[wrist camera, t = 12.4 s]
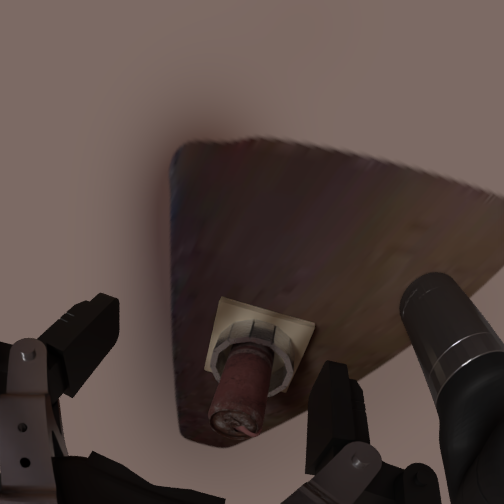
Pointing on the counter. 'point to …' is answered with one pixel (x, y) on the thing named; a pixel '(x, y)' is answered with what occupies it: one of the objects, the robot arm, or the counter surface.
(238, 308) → the stand
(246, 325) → the collar
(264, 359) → the can
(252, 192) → the counter surface
